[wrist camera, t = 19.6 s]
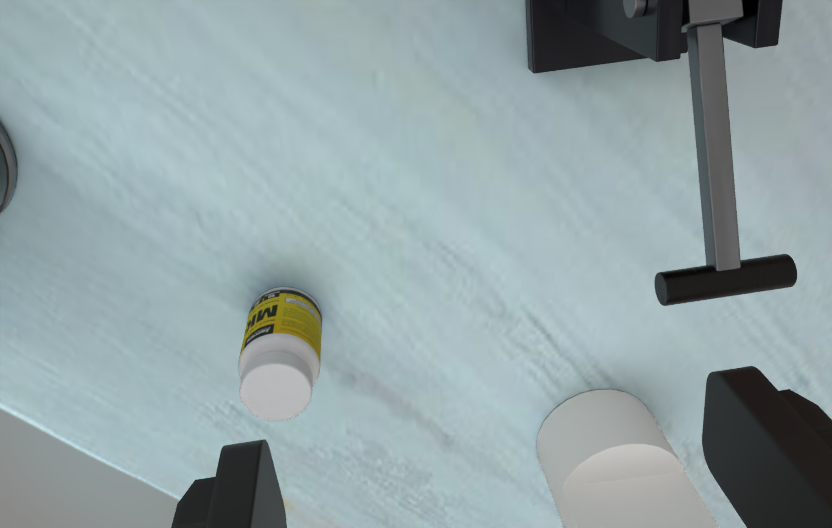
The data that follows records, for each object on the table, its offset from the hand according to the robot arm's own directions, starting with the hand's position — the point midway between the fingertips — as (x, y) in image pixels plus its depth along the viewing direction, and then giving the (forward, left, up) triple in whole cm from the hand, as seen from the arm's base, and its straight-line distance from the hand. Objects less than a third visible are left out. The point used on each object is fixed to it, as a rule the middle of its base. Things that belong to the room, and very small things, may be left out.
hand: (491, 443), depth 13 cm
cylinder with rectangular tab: (-19, -25, -32) cm, 45 cm away
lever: (+5, -12, -19) cm, 23 cm away
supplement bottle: (-17, 0, -32) cm, 36 cm away
